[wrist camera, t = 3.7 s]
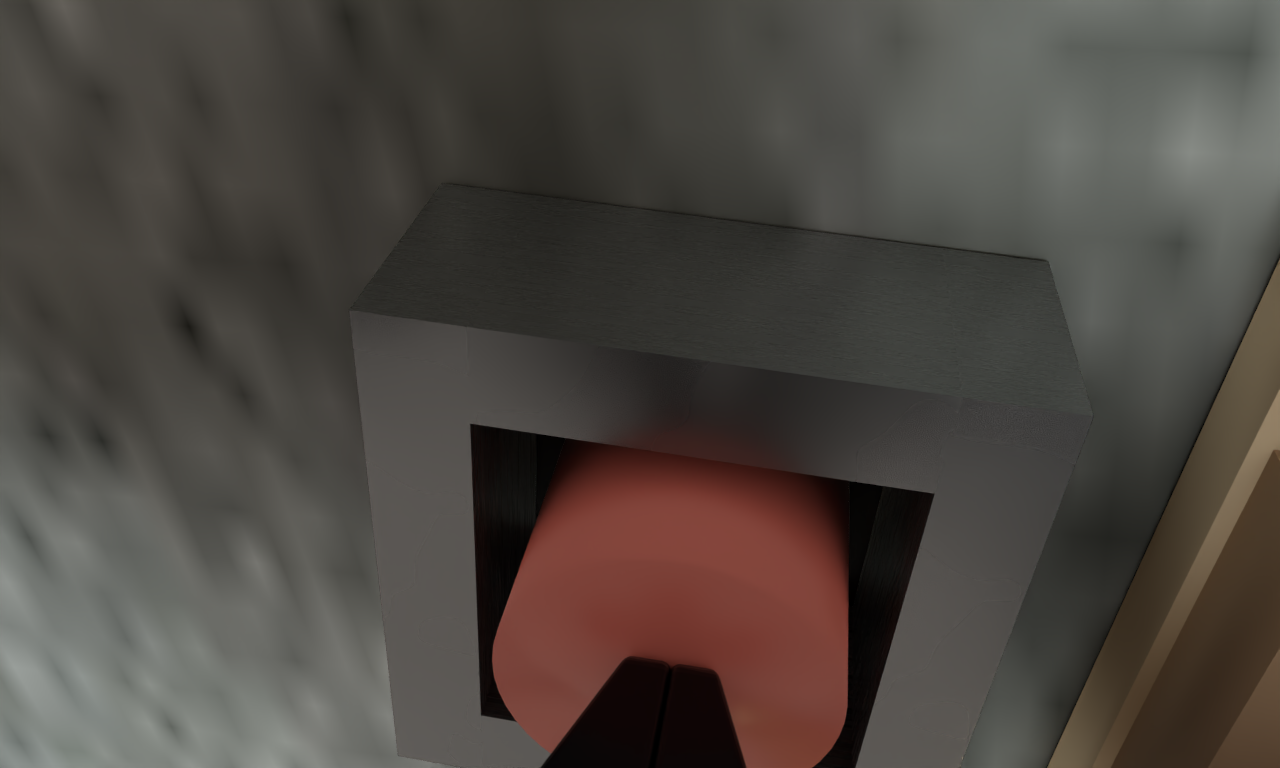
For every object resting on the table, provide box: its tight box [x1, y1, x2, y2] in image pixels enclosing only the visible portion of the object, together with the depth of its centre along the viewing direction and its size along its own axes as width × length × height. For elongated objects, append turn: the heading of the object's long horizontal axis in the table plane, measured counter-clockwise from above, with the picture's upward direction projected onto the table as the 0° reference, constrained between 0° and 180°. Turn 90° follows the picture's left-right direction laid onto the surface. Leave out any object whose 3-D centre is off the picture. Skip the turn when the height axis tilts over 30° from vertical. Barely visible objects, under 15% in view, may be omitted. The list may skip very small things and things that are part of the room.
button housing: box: [349, 183, 1094, 768], centre depth 12 cm, size 6×6×2 cm
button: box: [492, 438, 850, 768], centre depth 11 cm, size 3×3×3 cm
